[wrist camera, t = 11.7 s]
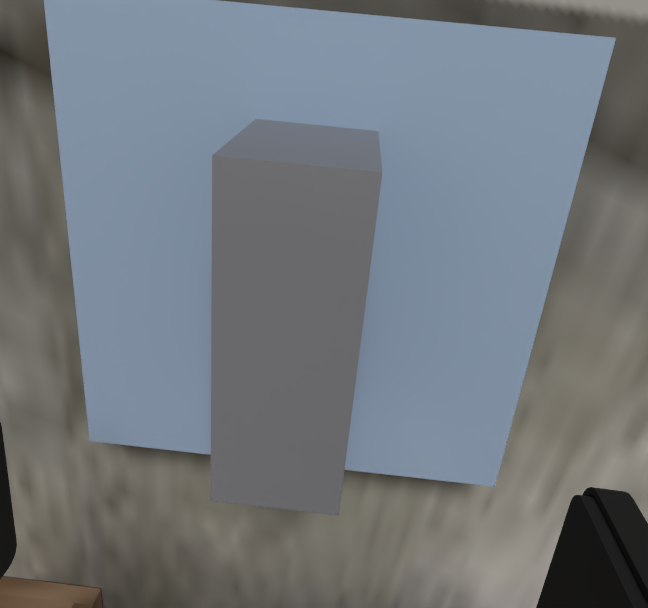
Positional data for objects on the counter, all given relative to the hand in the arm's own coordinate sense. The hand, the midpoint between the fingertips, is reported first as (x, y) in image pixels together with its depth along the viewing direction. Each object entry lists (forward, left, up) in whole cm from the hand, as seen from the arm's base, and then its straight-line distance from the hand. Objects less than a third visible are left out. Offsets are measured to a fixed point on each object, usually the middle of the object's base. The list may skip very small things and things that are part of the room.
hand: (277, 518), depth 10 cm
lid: (+1, -1, -10) cm, 10 cm away
